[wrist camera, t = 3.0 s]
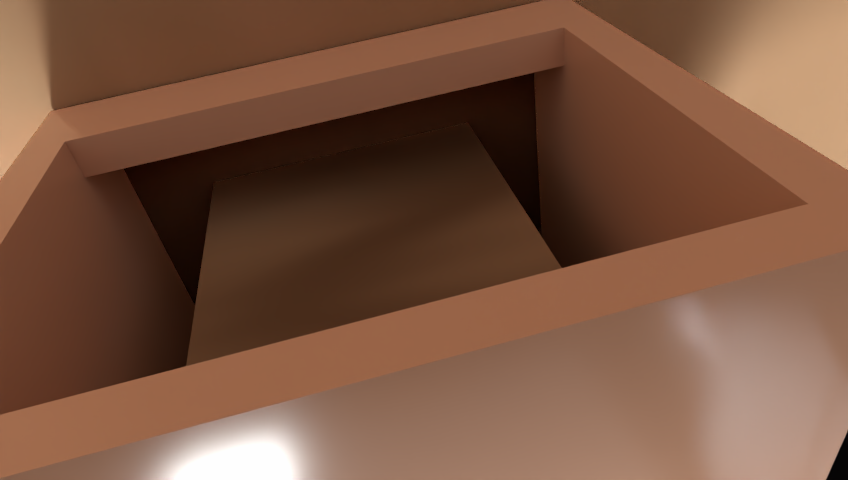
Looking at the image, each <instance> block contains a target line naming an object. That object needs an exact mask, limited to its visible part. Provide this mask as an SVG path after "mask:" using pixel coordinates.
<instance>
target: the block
mask: <svg viewBox="0 0 848 480" xmlns="http://www.w3.org/2000/svg"><path fill="white" fill-rule="evenodd" d="M557 269H561V266H560V265H559V263H558V261H557V260H556V258H555V257H554V255H553V254H552V252H551V251H550V249H549V247H548V246H547V244H546V243H545V241H544V240H543V238H542V237H541V235H540V234H539V232H538V230H537V229H536V227H535V226H534V224H533V223H532V221H531V220H530V218H529V216H528V215H527V213H526V212H525V210H524V209H523V207H522V206H521V204H520V202H519V201H518V199H517V198H516V196H515V195H514V193H513V192H512V190H511V188H510V187H509V185H508V184H507V182H506V181H505V179H504V178H503V176H502V174H501V173H500V171H499V170H498V168H497V167H496V165H495V164H494V162H493V161H492V159H491V157H490V156H489V154H488V153H487V151H486V150H485V148H484V147H483V145H482V143H481V142H480V140H479V139H478V137H477V136H476V134H475V133H474V131H473V129H472V128H471V126H470V125H469V123H468V122H467V123H463V124H458V125H454V126H450V127H446V128H442V129H437V130H433V131H429V132H425V133H420V134H416V135H412V136H408V137H404V138H399V139H395V140H391V141H387V142H382V143H378V144H374V145H370V146H366V147H361V148H357V149H353V150H349V151H344V152H340V153H336V154H332V155H328V156H323V157H319V158H315V159H311V160H306V161H302V162H298V163H294V164H290V165H285V166H281V167H277V168H273V169H268V170H264V171H260V172H256V173H252V174H247V175H243V176H239V177H235V178H230V179H226V180H222V181H218V182H214V185H213V192H212V198H211V205H210V212H209V218H208V225H207V231H206V238H205V245H204V251H203V258H202V265H201V271H200V278H199V284H198V291H197V298H196V304H195V311H194V317H193V324H192V331H191V337H190V344H189V351H188V357H187V364H186V366H189V365H193V364H197V363H201V362H204V361H208V360H212V359H216V358H220V357H223V356H227V355H231V354H235V353H239V352H243V351H246V350H250V349H254V348H258V347H262V346H266V345H269V344H273V343H277V342H281V341H285V340H289V339H292V338H296V337H300V336H304V335H308V334H312V333H315V332H319V331H323V330H327V329H331V328H335V327H338V326H342V325H346V324H350V323H354V322H358V321H361V320H365V319H369V318H373V317H377V316H381V315H384V314H388V313H392V312H396V311H400V310H404V309H407V308H411V307H415V306H419V305H423V304H427V303H430V302H434V301H438V300H442V299H446V298H450V297H453V296H457V295H461V294H465V293H469V292H473V291H476V290H480V289H484V288H488V287H492V286H495V285H499V284H503V283H507V282H511V281H515V280H518V279H522V278H526V277H530V276H534V275H538V274H541V273H545V272H549V271H553V270H557Z"/></svg>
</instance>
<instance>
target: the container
mask: <svg viewBox="0 0 848 480" xmlns="http://www.w3.org/2000/svg"><path fill="white" fill-rule="evenodd" d="M530 73H534V86H535V107H536V129H537V151H538V173H539V195H540V216H541V237H542V238H543V240H544V241H545V243H546V244H547V246H548V247H549V249H550V251H551V252H552V254H553V255H554V257H555V258H556V260H557V261H558V263H559V265H560V266H561V269H557V270H553V271H549V272H545V273H541V274H538V275H534V276H530V277H526V278H522V279H518V280H515V281H511V282H507V283H503V284H499V285H495V286H492V287H488V288H484V289H480V290H476V291H473V292H469V293H465V294H461V295H457V296H453V297H450V298H446V299H442V300H438V301H434V302H430V303H427V304H423V305H419V306H415V307H411V308H407V309H404V310H400V311H396V312H392V313H388V314H384V315H381V316H377V317H373V318H369V319H365V320H361V321H358V322H354V323H350V324H346V325H342V326H338V327H335V328H331V329H327V330H323V331H319V332H315V333H312V334H308V335H304V336H300V337H296V338H292V339H289V340H285V341H281V342H277V343H273V344H269V345H266V346H262V347H258V348H254V349H250V350H246V351H243V352H239V353H235V354H231V355H227V356H223V357H220V358H216V359H212V360H208V361H204V362H201V363H197V364H193V365H189V366H186V364H187V357H188V351H189V344H190V337H191V331H192V324H193V317H194V311H195V305H194V303H193V301H192V299H191V297H190V296H189V294H188V292H187V290H186V288H185V286H184V284H183V282H182V280H181V278H180V276H179V274H178V273H177V271H176V269H175V267H174V265H173V263H172V261H171V259H170V257H169V255H168V253H167V251H166V250H165V248H164V246H163V244H162V242H161V240H160V238H159V236H158V234H157V232H156V230H155V229H154V227H153V225H152V223H151V221H150V219H149V217H148V215H147V213H146V211H145V209H144V207H143V206H142V204H141V202H140V200H139V198H138V196H137V194H136V192H135V190H134V188H133V186H132V184H131V183H130V181H129V179H128V177H127V175H126V173H125V171H124V168H128V167H133V166H137V165H141V164H145V163H150V162H154V161H158V160H163V159H167V158H171V157H175V156H180V155H184V154H188V153H192V152H197V151H201V150H205V149H210V148H214V147H218V146H222V145H227V144H231V143H235V142H239V141H244V140H248V139H252V138H257V137H261V136H265V135H269V134H274V133H278V132H282V131H286V130H291V129H295V128H299V127H304V126H308V125H312V124H316V123H321V122H325V121H329V120H333V119H338V118H342V117H346V116H351V115H355V114H359V113H363V112H368V111H372V110H376V109H380V108H385V107H389V106H393V105H398V104H402V103H406V102H410V101H415V100H419V99H423V98H427V97H432V96H436V95H440V94H445V93H449V92H453V91H457V90H462V89H466V88H470V87H474V86H479V85H483V84H487V83H492V82H496V81H500V80H504V79H509V78H513V77H517V76H521V75H526V74H530ZM847 431H848V170H847V169H845V168H843V167H842V166H840V165H838V164H837V163H835V162H834V161H832V160H830V159H829V158H827V157H825V156H824V155H822V154H821V153H819V152H817V151H816V150H814V149H812V148H811V147H809V146H808V145H806V144H804V143H803V142H801V141H799V140H798V139H796V138H795V137H793V136H791V135H790V134H788V133H786V132H785V131H783V130H782V129H780V128H778V127H777V126H775V125H773V124H772V123H770V122H769V121H767V120H765V119H764V118H762V117H760V116H759V115H757V114H756V113H754V112H752V111H751V110H749V109H747V108H746V107H744V106H743V105H741V104H739V103H738V102H736V101H734V100H733V99H731V98H730V97H728V96H726V95H725V94H723V93H721V92H720V91H718V90H717V89H715V88H713V87H712V86H710V85H708V84H707V83H705V82H704V81H702V80H700V79H699V78H697V77H695V76H694V75H692V74H691V73H689V72H687V71H686V70H684V69H682V68H681V67H679V66H678V65H676V64H674V63H673V62H671V61H669V60H668V59H666V58H665V57H663V56H661V55H660V54H658V53H656V52H655V51H653V50H652V49H650V48H648V47H647V46H645V45H643V44H642V43H640V42H639V41H637V40H635V39H634V38H632V37H630V36H629V35H627V34H626V33H624V32H622V31H621V30H619V29H617V28H616V27H614V26H613V25H611V24H609V23H608V22H606V21H604V20H603V19H601V18H600V17H598V16H596V15H595V14H593V13H591V12H590V11H588V10H587V9H585V8H583V7H582V6H580V5H578V4H577V3H575V2H574V1H572V0H543V1H539V2H534V3H530V4H525V5H521V6H516V7H512V8H507V9H503V10H499V11H494V12H490V13H485V14H481V15H476V16H472V17H467V18H463V19H459V20H454V21H450V22H445V23H441V24H436V25H432V26H427V27H423V28H418V29H414V30H410V31H405V32H401V33H396V34H392V35H387V36H383V37H378V38H374V39H370V40H365V41H361V42H356V43H352V44H347V45H343V46H338V47H334V48H329V49H325V50H321V51H316V52H312V53H307V54H303V55H298V56H294V57H289V58H285V59H281V60H276V61H272V62H267V63H263V64H258V65H254V66H249V67H245V68H240V69H236V70H232V71H227V72H223V73H218V74H214V75H209V76H205V77H200V78H196V79H192V80H187V81H183V82H178V83H174V84H169V85H165V86H160V87H156V88H151V89H147V90H143V91H138V92H134V93H129V94H125V95H120V96H116V97H111V98H107V99H103V100H98V101H94V102H89V103H85V104H80V105H76V106H71V107H67V108H62V109H58V110H54V111H51V112H50V113H49V114H48V116H47V117H46V118H45V120H44V121H43V123H42V124H41V125H40V127H39V128H38V129H37V131H36V132H35V133H34V135H33V136H32V138H31V139H30V140H29V142H28V143H27V144H26V146H25V147H24V148H23V150H22V151H21V153H20V154H19V155H18V157H17V158H16V159H15V161H14V162H13V164H12V165H11V166H10V168H9V169H8V170H7V172H6V173H5V174H4V176H3V177H2V179H1V180H0V480H826V479H827V476H828V474H829V472H830V470H831V467H832V465H833V463H834V461H835V458H836V456H837V454H838V452H839V449H840V447H841V445H842V442H843V440H844V438H845V436H846V433H847Z"/></svg>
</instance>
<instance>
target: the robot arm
mask: <svg viewBox="0 0 848 480" xmlns="http://www.w3.org/2000/svg"><path fill="white" fill-rule="evenodd" d="M826 480H848V431H847V433H846V436H845V438H844V440H843V442H842V445H841V447H840V449H839V452H838V454H837V456H836V458H835V461H834V463H833V465H832V467H831V470H830V472H829V474H828V476H827V479H826Z"/></svg>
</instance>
